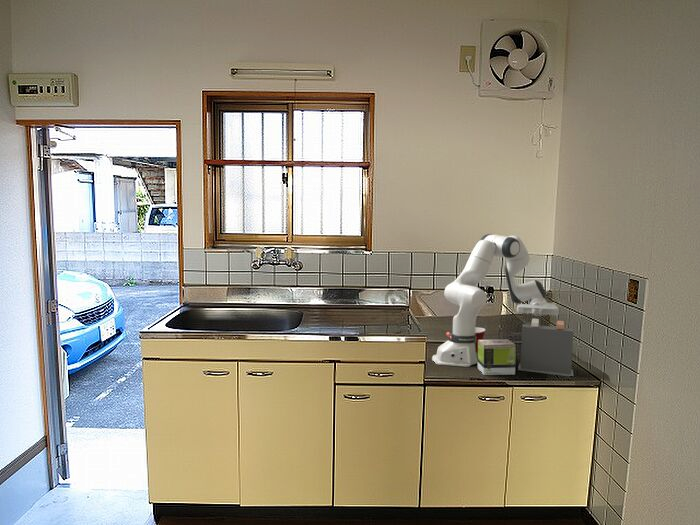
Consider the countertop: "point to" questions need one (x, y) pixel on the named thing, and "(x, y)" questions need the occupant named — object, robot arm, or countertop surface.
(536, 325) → the ivory key
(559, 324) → the terracotta key
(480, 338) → the plastic cup
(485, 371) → the tea box
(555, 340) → the panel
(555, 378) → the countertop surface
